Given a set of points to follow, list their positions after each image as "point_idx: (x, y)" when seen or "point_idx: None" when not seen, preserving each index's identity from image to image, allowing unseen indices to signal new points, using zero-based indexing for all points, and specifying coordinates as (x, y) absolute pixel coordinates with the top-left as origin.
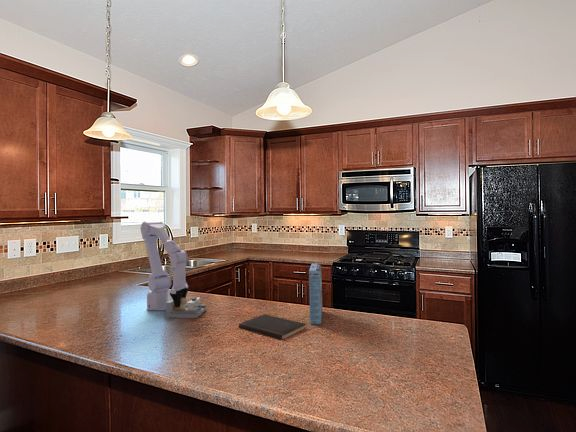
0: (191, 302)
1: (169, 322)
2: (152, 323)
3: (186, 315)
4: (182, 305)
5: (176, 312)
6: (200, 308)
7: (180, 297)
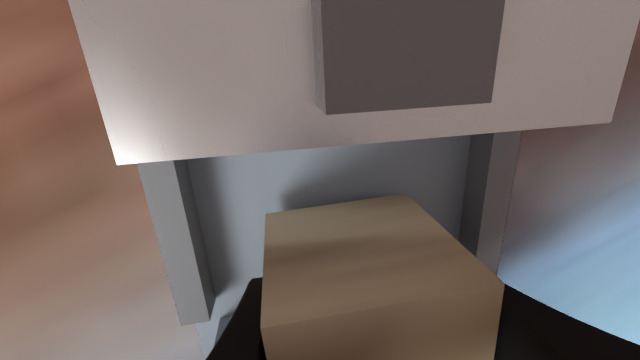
0: (633, 10)
1: (592, 190)
2: (588, 300)
3: None
4: (440, 230)
5: (498, 223)
6: None
7: (637, 357)
